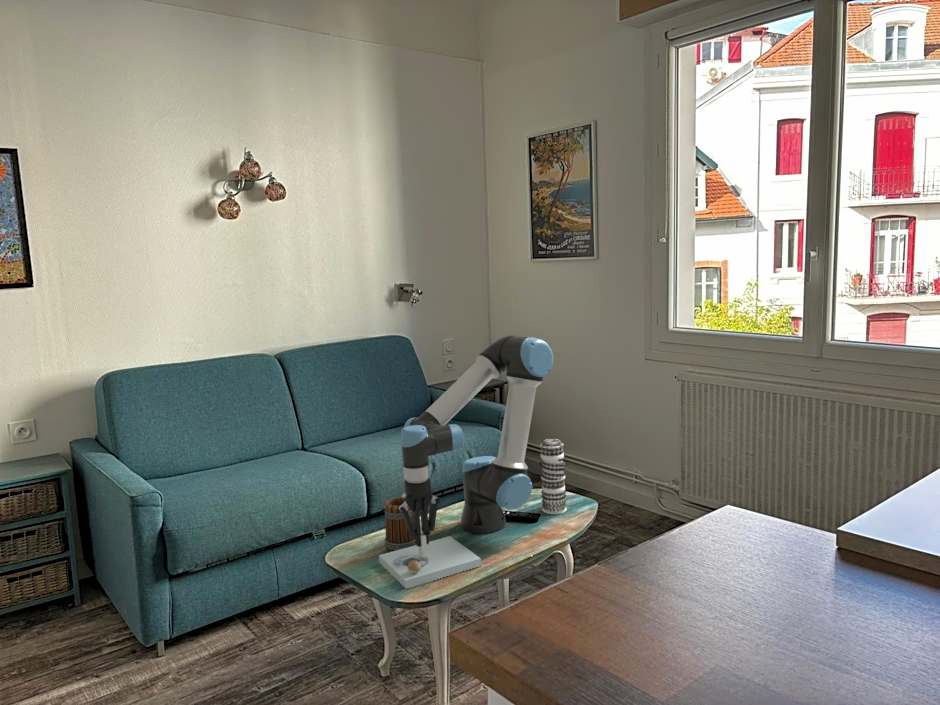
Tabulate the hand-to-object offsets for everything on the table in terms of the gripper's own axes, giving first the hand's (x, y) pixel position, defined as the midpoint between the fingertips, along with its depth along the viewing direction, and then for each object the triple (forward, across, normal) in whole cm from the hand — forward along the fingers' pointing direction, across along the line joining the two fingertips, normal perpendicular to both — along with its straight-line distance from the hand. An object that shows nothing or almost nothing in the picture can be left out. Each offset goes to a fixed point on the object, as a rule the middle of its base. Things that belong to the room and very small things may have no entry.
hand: (423, 555), depth 214 cm
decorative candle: (+4, -57, -14) cm, 59 cm away
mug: (+4, -2, -19) cm, 19 cm away
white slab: (+4, -2, 0) cm, 4 cm away
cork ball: (-1, +6, +7) cm, 10 cm away
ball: (+2, +4, 0) cm, 4 cm away
